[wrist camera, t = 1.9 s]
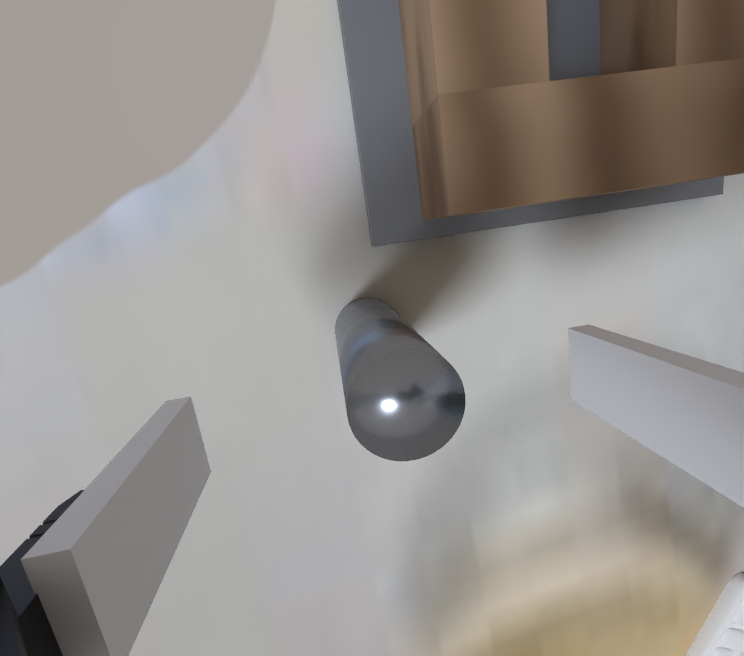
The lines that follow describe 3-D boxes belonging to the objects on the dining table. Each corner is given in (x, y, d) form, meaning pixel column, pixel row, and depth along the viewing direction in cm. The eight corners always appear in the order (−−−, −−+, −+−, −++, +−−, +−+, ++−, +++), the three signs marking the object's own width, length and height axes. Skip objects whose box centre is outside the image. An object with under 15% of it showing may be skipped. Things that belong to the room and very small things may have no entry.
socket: (722, -148, 22) (867, -290, 16) (707, 195, 26) (819, 182, 20) (319, -121, 20) (319, -270, 14) (371, 246, 24) (387, 247, 18)
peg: (394, 293, 25) (459, 338, 13) (402, 354, 26) (470, 448, 14) (330, 303, 24) (337, 359, 13) (340, 365, 25) (356, 471, 14)
